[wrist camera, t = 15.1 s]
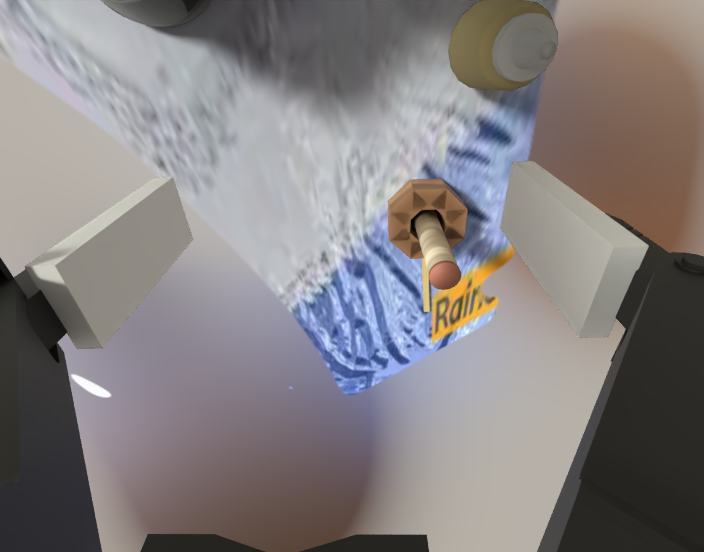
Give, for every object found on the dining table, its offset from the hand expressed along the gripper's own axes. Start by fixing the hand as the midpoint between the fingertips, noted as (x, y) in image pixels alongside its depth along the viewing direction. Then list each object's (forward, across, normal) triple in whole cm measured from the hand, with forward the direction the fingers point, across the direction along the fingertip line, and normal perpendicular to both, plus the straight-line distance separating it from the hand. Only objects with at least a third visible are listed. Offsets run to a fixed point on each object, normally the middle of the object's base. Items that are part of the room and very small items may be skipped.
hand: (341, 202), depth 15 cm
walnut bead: (+35, +9, -16) cm, 39 cm away
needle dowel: (+35, +9, -16) cm, 39 cm away
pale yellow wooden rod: (+35, +10, -28) cm, 46 cm away
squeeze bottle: (+35, +14, +4) cm, 38 cm away
